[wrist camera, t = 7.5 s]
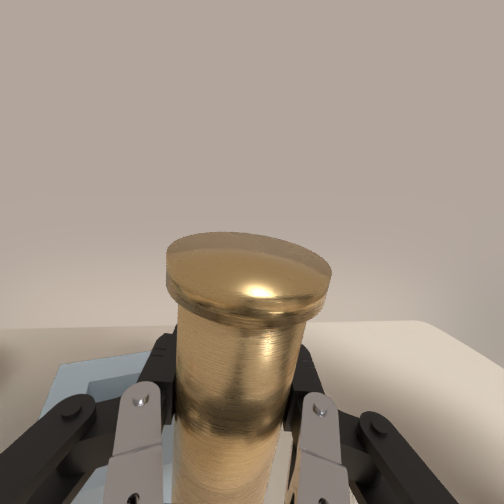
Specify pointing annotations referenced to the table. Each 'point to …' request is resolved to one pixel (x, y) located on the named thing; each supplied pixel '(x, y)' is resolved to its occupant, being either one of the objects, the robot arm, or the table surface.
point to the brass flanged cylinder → (235, 357)
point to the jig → (104, 388)
